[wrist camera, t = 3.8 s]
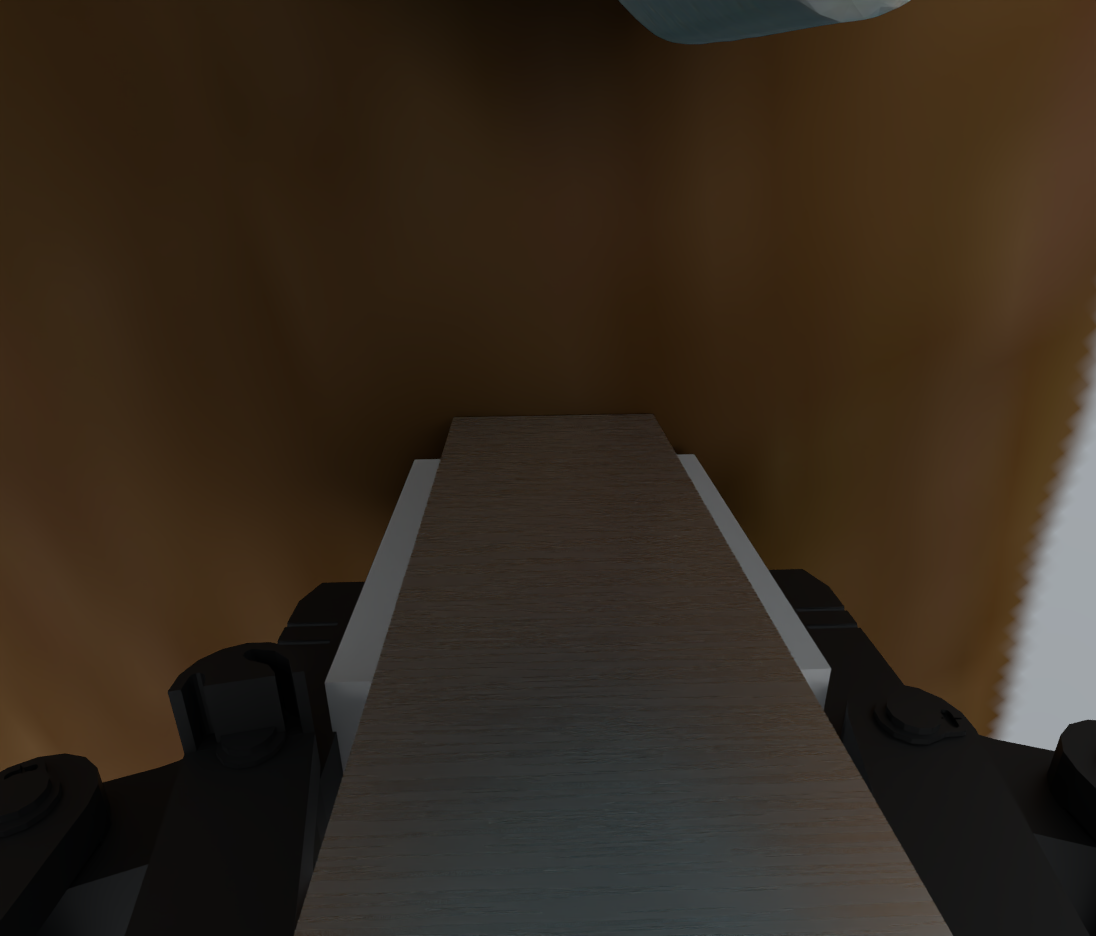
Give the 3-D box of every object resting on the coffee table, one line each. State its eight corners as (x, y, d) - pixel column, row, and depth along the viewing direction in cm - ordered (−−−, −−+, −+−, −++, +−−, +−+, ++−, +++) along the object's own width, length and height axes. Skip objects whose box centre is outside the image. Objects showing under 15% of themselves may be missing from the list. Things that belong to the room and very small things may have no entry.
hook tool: (453, 417, 14) (143, 1414, 3) (652, 414, 14) (1194, 1350, 3) (482, 869, 18) (419, 1893, 7) (629, 864, 19) (786, 1866, 7)
